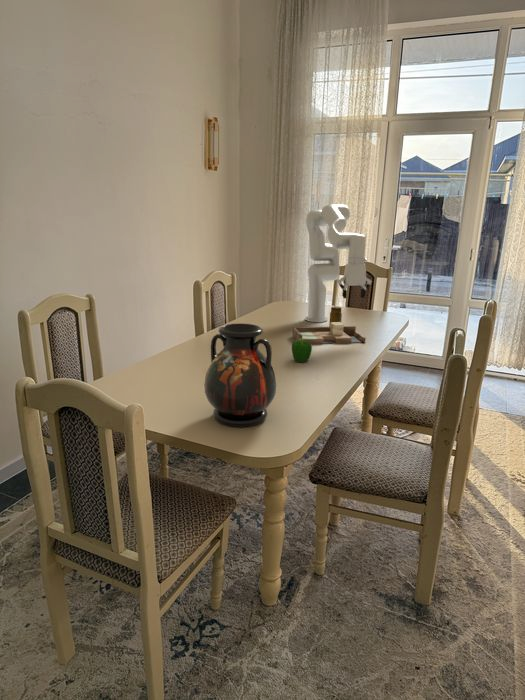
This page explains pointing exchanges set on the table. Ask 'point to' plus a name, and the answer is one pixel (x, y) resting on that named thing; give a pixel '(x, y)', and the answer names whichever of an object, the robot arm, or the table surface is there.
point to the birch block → (336, 328)
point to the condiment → (335, 315)
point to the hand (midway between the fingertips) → (353, 297)
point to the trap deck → (327, 335)
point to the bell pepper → (301, 350)
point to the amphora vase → (240, 376)
